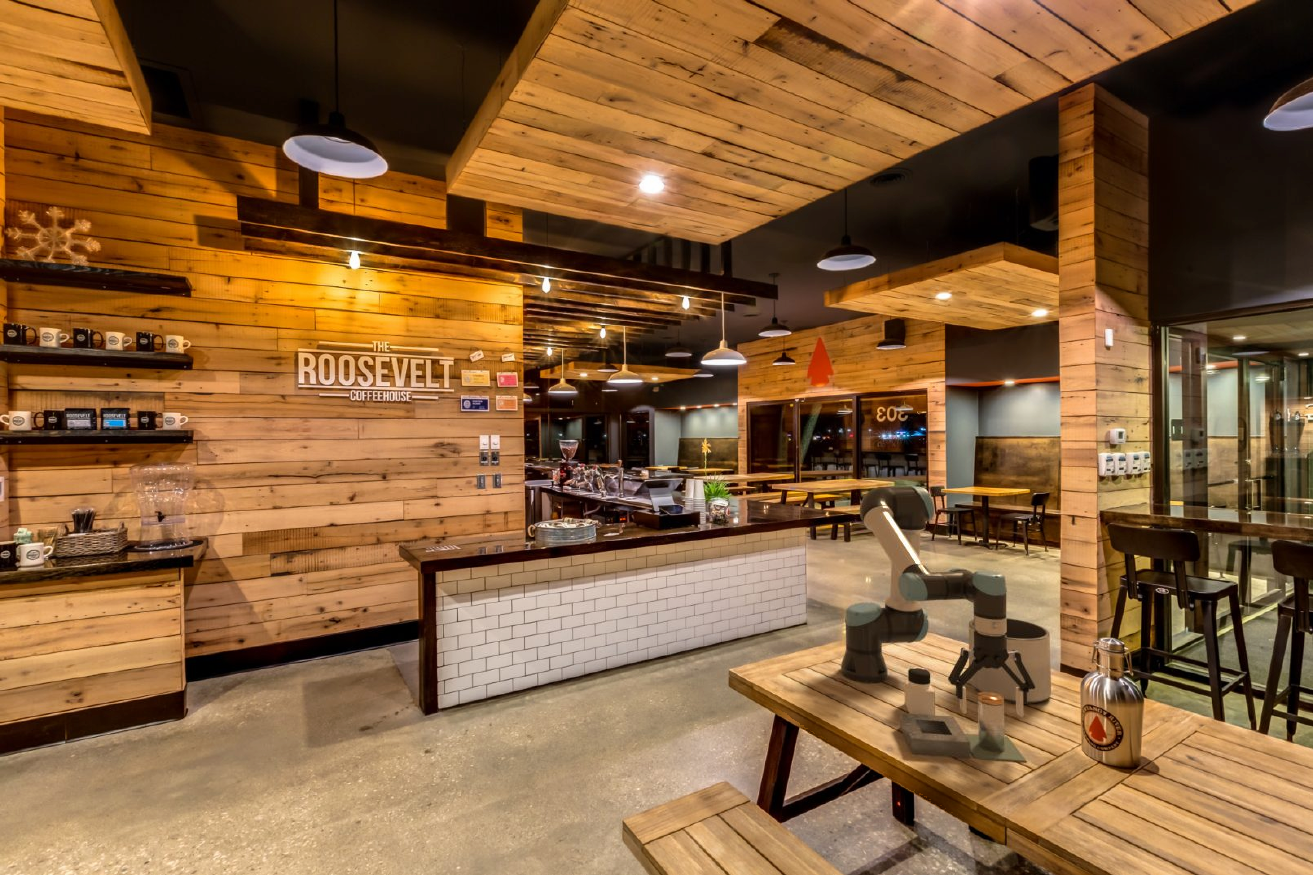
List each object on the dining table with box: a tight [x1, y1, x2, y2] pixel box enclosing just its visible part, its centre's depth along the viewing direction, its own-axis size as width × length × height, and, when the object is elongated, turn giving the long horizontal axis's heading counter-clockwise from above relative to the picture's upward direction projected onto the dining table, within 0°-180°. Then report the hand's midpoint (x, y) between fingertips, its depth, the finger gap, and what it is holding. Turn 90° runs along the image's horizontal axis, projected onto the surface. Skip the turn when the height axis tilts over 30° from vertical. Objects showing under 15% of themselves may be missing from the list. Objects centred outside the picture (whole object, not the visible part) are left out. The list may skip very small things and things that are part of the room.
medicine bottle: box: [903, 666, 936, 715], centre depth 179 cm, size 7×7×12 cm
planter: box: [968, 617, 1052, 705], centre depth 191 cm, size 23×23×20 cm
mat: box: [964, 733, 1028, 763], centre depth 157 cm, size 12×12×1 cm
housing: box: [899, 712, 972, 759], centre depth 160 cm, size 14×14×4 cm
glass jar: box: [977, 691, 1005, 752], centre depth 157 cm, size 6×6×13 cm
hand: (991, 712), depth 157 cm, fingers open, 13 cm apart
